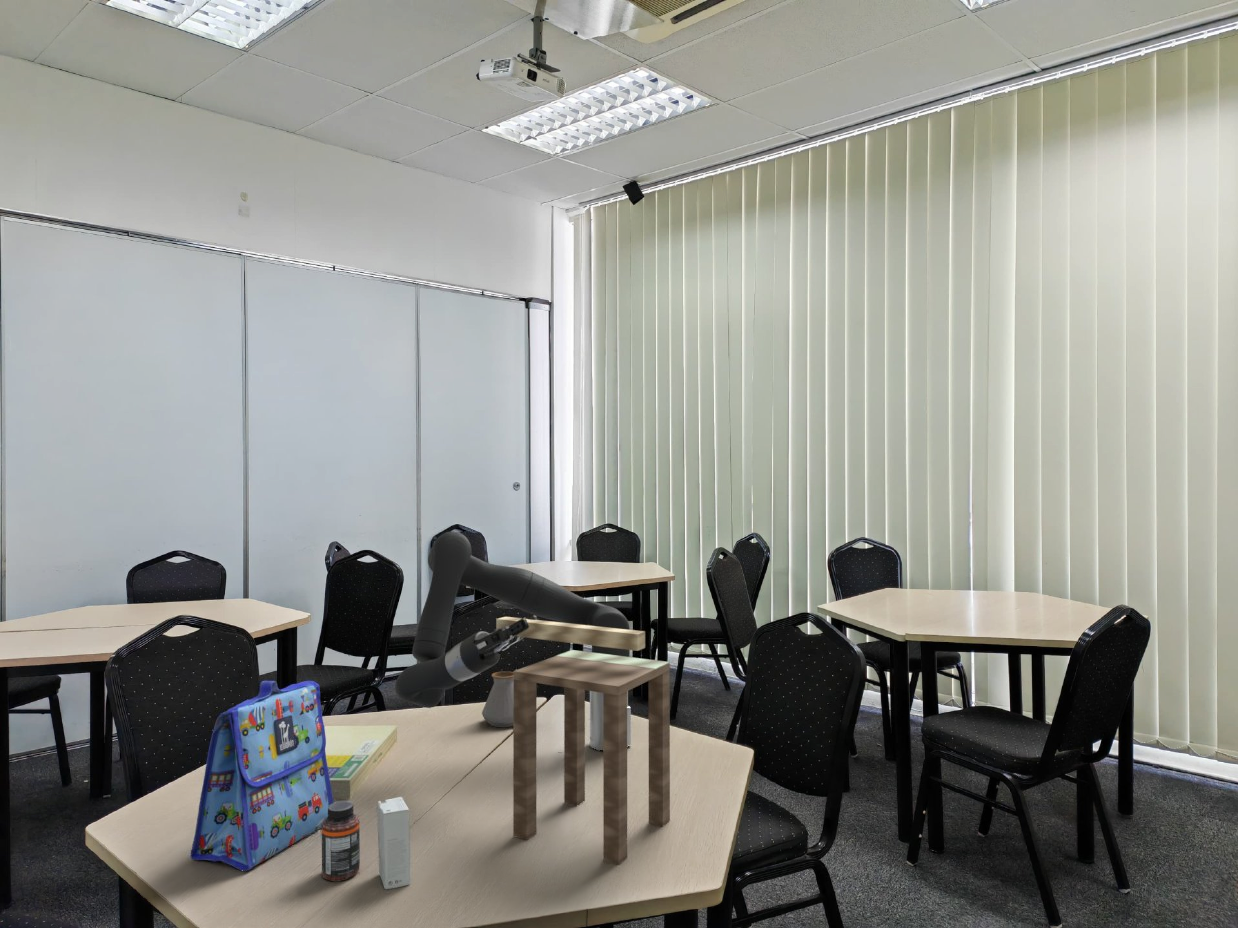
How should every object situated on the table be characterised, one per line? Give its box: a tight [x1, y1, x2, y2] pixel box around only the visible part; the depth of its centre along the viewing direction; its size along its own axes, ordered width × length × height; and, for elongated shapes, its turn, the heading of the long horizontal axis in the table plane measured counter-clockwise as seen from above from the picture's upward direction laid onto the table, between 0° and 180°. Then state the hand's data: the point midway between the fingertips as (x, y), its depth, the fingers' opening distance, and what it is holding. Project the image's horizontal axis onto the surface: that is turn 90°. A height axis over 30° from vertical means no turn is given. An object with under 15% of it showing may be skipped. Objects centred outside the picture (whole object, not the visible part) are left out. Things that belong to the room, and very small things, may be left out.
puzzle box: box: [324, 724, 398, 800], centre depth 181 cm, size 36×5×24 cm
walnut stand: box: [512, 649, 671, 865], centre depth 150 cm, size 22×20×30 cm
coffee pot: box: [481, 671, 514, 728], centre depth 214 cm, size 21×12×15 cm, turn 99°
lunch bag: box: [190, 680, 334, 872], centre depth 145 cm, size 22×14×29 cm, turn 160°
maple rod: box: [495, 616, 646, 652], centre depth 155 cm, size 32×3×3 cm, turn 61°
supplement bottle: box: [321, 800, 361, 882], centre depth 133 cm, size 6×6×11 cm
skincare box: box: [376, 796, 412, 890], centre depth 131 cm, size 6×4×12 cm
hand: (531, 621), depth 159 cm, fingers closed on maple rod, 3 cm apart
